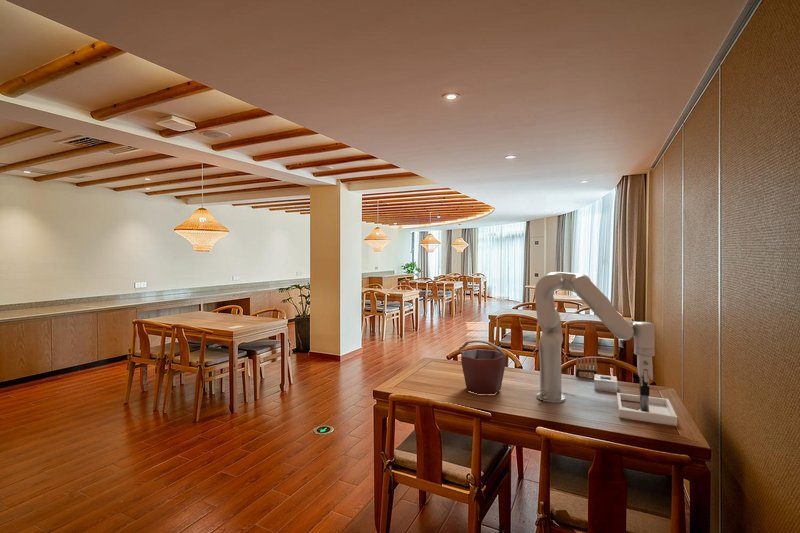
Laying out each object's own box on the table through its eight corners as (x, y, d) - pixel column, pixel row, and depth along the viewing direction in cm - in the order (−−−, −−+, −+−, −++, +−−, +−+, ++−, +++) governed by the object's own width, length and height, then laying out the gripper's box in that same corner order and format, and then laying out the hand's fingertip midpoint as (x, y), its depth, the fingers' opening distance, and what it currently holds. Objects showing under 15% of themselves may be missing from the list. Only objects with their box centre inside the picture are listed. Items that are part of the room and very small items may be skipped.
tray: (677, 426, 155) (677, 417, 155) (619, 417, 164) (619, 409, 164) (668, 406, 174) (668, 398, 174) (616, 400, 183) (616, 392, 183)
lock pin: (647, 412, 167) (647, 384, 167) (639, 410, 169) (638, 382, 169) (649, 410, 169) (649, 382, 169) (641, 408, 171) (640, 380, 171)
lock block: (617, 394, 191) (617, 382, 191) (594, 391, 195) (594, 379, 195) (616, 388, 200) (616, 376, 200) (594, 385, 204) (594, 374, 204)
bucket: (450, 389, 203) (449, 341, 202) (477, 380, 217) (476, 335, 217) (489, 401, 184) (489, 348, 184) (516, 390, 199) (515, 341, 198)
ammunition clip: (575, 378, 217) (575, 356, 217) (575, 377, 219) (575, 355, 219) (597, 380, 213) (597, 358, 213) (597, 379, 215) (597, 357, 214)
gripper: (657, 356, 159) (657, 401, 160) (652, 347, 174) (652, 388, 175) (635, 354, 163) (635, 398, 163) (632, 346, 178) (632, 386, 178)
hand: (644, 392), depth 169 cm, fingers open, 3 cm apart
